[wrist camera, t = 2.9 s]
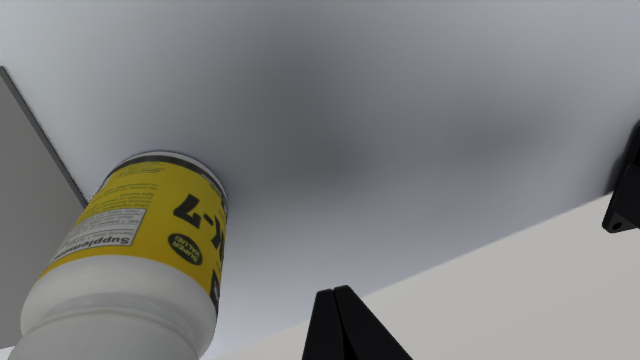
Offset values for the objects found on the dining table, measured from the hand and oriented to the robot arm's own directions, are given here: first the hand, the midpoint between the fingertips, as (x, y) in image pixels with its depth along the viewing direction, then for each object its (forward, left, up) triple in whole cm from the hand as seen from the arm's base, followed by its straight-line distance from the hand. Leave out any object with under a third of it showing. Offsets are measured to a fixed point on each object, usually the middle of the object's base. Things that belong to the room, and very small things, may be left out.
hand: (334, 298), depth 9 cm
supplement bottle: (+6, 0, -7) cm, 9 cm away
